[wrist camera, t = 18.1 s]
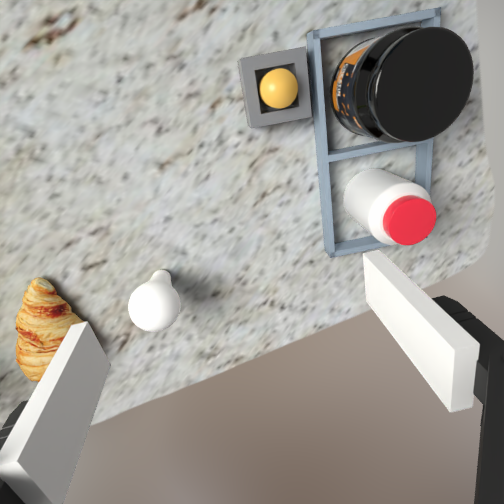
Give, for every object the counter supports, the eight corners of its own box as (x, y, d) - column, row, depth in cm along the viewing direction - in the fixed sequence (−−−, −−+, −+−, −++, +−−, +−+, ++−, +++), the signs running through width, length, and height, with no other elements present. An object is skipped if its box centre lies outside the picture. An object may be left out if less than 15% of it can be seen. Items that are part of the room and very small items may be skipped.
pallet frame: (306, 34, 39) (312, 30, 36) (427, 12, 39) (441, 7, 37) (324, 250, 51) (330, 257, 48) (417, 231, 51) (427, 237, 49)
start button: (255, 73, 38) (259, 72, 35) (288, 67, 39) (295, 65, 35) (260, 109, 40) (265, 111, 37) (292, 103, 40) (299, 104, 37)
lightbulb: (143, 294, 50) (128, 344, 40) (137, 256, 47) (118, 300, 37) (186, 291, 51) (181, 340, 41) (182, 254, 48) (176, 295, 38)
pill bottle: (332, 207, 48) (365, 237, 38) (365, 157, 46) (409, 175, 36) (374, 230, 50) (415, 264, 40) (407, 184, 48) (460, 208, 38)
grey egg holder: (237, 61, 39) (240, 58, 36) (297, 50, 39) (305, 46, 36) (247, 125, 42) (251, 128, 39) (303, 115, 42) (311, 116, 39)
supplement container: (348, 23, 39) (404, -3, 28) (425, 59, 41) (503, 47, 31) (313, 118, 43) (350, 127, 32) (385, 145, 45) (441, 162, 34)
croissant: (31, 263, 50) (-27, 290, 43) (84, 272, 46) (31, 303, 39) (69, 376, 58) (25, 413, 51) (116, 391, 55) (77, 433, 48)
